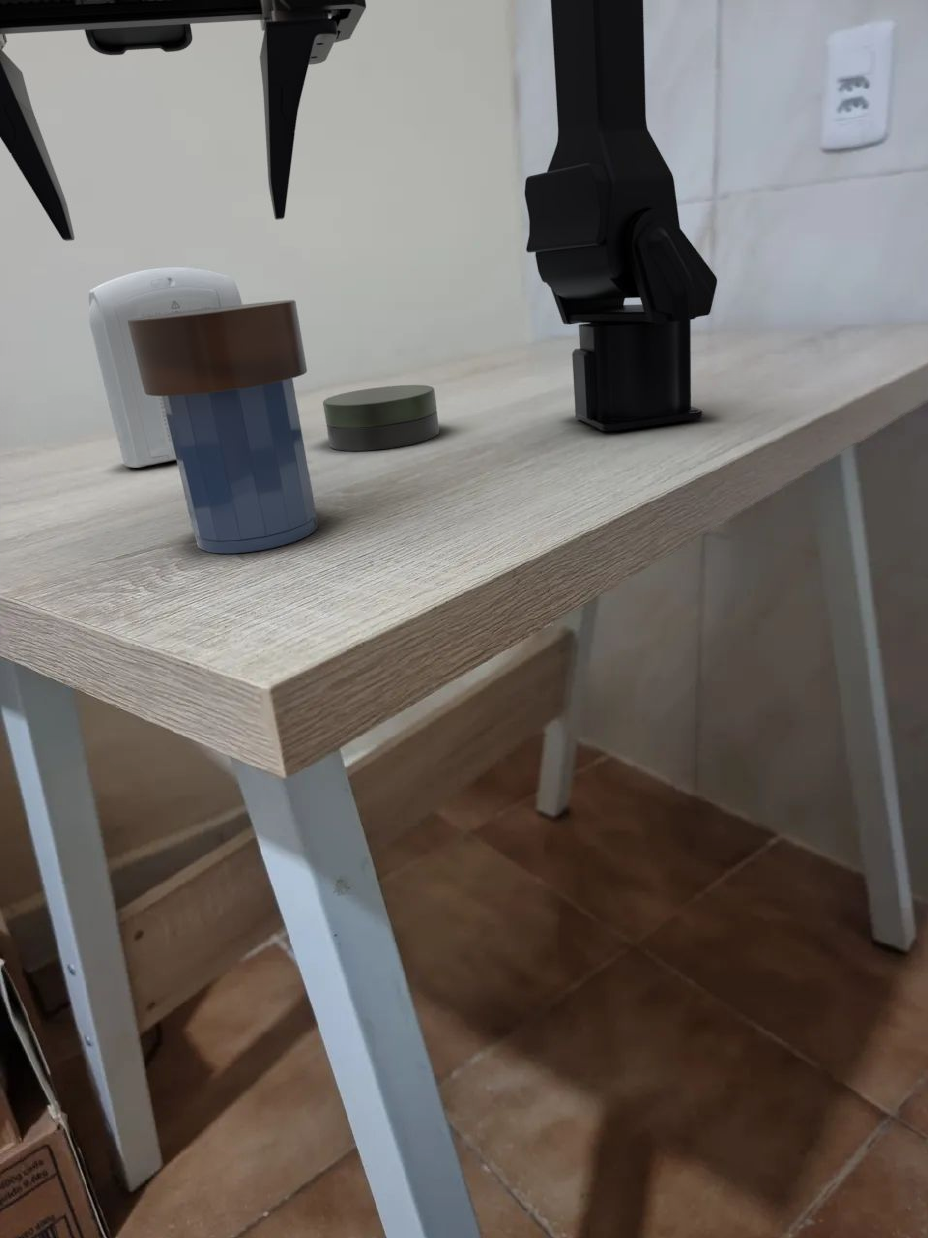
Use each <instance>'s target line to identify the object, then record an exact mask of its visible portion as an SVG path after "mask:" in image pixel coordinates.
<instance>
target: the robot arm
mask: <svg viewBox="0 0 928 1238" xmlns="http://www.w3.org/2000/svg"><path fill="white" fill-rule="evenodd" d="M366 2H367V1H366V0H0V140H1V141H2V143H3V144H4V147H5V148H6V149H7V151H8V152H9V154H10V155H11V158H13V160H14V162H15V164H16V166H17V167H18V169H19V171H20V172H21V174H22V175H23V177H24V178H25V181H26V182H27V183H28V185H29V187H30V188H31V190H32V191H33V193H34V195H35V196H36V198H37V200H38V201H39V203H40V204H41V206H42V208H43V210H44V211H45V213H46V215H47V216H48V218H49V220H50V221H51V222H52V225H53V226H54V228H55V230H56V231H57V233H58V234H59V236H60V238H61V239H62V240H63V241H66V242H69V241H71V242H72V241H74V240H75V233H74V229H73V225H72V220H71V216H70V212H69V207H68V203H67V201H66V200H67V199H66V198H65V195H64V192H63V189H62V186H61V184H60V181H59V179H58V176H57V173H56V170H55V167H54V164H53V162H52V159H51V156H50V154H49V151H48V149H47V146H46V143H45V140H44V138H43V135H42V132H41V130H40V126H39V124H38V121H37V119H36V116H35V113H34V111H33V108H32V104H31V100H30V96H29V93H28V89H27V85H26V81H25V76H24V73H23V71H22V70H21V69H20V68H19V67H18V65H16V64H15V63H14V62H13V60H11V58H10V57H9V56H8V55H7V54H6V53H5V51H3V49H4V47H5V46H6V44H7V42H8V40H7V35H10V34H11V35H12V34H13V35H14V34H31V33H33V34H34V33H49V32H51V33H52V32H69V31H84V33H85V37H86V40H87V43H88V45H89V46H90V48H91V49H92V50H94V51H95V52H97V53H99V54H101V55H106V56H122V55H124V54H125V53H126V52H127V51H135V50H137V51H138V50H152V49H153V50H154V49H159V50H162V51H163V52H165V53H171V52H172V53H174V52H179V51H182V50H185V49H187V48H188V47H189V46H190V45H191V44H192V42H193V32H192V27H191V24H192V25H194V24H209V23H212V24H213V23H228V22H246V21H259V22H260V28H261V31H262V32H263V36H262V43H261V48H260V53H259V63H260V72H261V81H262V82H261V83H262V93H263V95H262V96H263V110H264V111H263V112H264V127H265V144H266V162H267V181H268V190H269V195H270V201H271V205H272V211H273V217H274V219H275V220H277V221H278V220H284V219H285V216H286V209H287V200H288V191H289V185H290V176H291V169H292V168H291V167H292V158H293V150H294V144H295V143H294V142H295V135H296V134H295V133H296V127H297V119H298V112H299V107H300V102H301V97H302V94H303V90H304V85H305V82H306V77H307V73H308V69H309V65H310V66H311V65H319V64H321V63H323V62H325V61H326V60H327V58H328V56H329V54H330V52H331V50H332V48H333V46H334V44H336V43H340V42H343V41H346V40H350V39H351V37H352V35H353V33H354V32H355V30H356V28H357V25H358V24H359V23H360V21H361V18H362V16H363V14H364V13H365V11H366V9H367V3H366ZM550 12H551V29H552V31H551V32H552V46H553V47H552V48H553V64H554V83H555V98H556V99H555V100H556V101H555V102H556V117H557V119H556V121H557V141H556V145H555V148H554V151H553V154H552V157H551V159H550V163H549V165H548V168H547V171H546V172H541V173H537V174H532V175H529V176H527V177H526V178H525V180H524V181H525V182H524V198H525V205H526V210H527V215H528V221H529V227H528V228H529V229H528V237H527V238H528V239H527V243H526V247H525V250H526V252H527V253H529V254H530V253H535V254H534V255H535V259H536V260H535V262H536V266H537V272H538V274H539V276H540V279H541V281H542V282H543V283H546V285H548V287H549V288H550V290H551V293H552V297H553V299H554V302H555V305H556V307H557V310H558V313H559V317H560V319H561V322H562V324H563V325H574V324H575V325H576V324H578V337H579V348H575V349H574V350H573V351H572V352H571V356H572V374H573V392H574V409H575V410H574V414H575V418H576V419H578V420H580V421H581V422H584V423H586V424H588V425H590V426H592V427H594V428H596V429H598V430H600V431H602V432H616V431H621V430H629V429H636V428H643V427H648V426H657V425H663V424H670V423H678V422H684V421H691V420H698V419H699V420H700V419H702V418H703V409H699V408H697V407H693V406H692V338H691V337H692V334H691V333H692V331H691V329H692V328H691V326H692V323H691V321H692V320H695V319H696V318H699V317H705V316H709V315H710V314H711V311H712V307H713V303H714V298H715V294H716V290H717V285H718V277H717V276H716V275H715V273H714V272H713V270H712V269H711V268H710V266H709V265H708V264H707V262H706V261H705V260H704V258H703V257H702V255H700V253H699V252H698V250H697V249H696V247H695V246H694V245H693V243H692V242H691V241H690V239H689V238H688V236H687V235H686V234H685V233H684V232H683V230H682V229H681V225H680V217H679V209H678V202H677V201H678V200H677V193H676V186H675V180H674V175H673V173H672V171H671V169H670V168H669V165H668V164H667V162H666V160H665V158H664V156H663V154H662V152H661V151H660V149H659V147H658V146H657V144H656V142H655V140H654V138H653V136H652V134H651V132H650V131H649V129H648V124H647V113H646V111H647V109H646V69H645V68H646V67H645V65H646V64H645V63H646V62H645V27H644V26H645V24H644V23H645V22H644V0H550ZM625 299H640V303H641V304H625V301H626V300H625Z"/></svg>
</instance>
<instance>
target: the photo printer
mask: <svg viewBox="0 0 928 1238" xmlns="http://www.w3.org/2000/svg"><path fill="white" fill-rule="evenodd" d="M235 305H243V301H242V298H241V295H240V292H239V289H238V286H237V284H236V282H235V280H234V278H233V277H232V276H230V275H227V274H224V273H220V272H217V271H212V270H208V269H202V268H196V267H183V266H182V267H181V266H180V267H177V266H174V267H172V266H171V267H158V268H157V267H155V268H150V269H143V270H139V271H133V272H131V273H127V274H124V275H121V276H118V277H115V278H113V279H109V280H108V281H105V282H104V283H101V284H99V285H97V286H95V287H94V288H91V289H90V290H88V306H89V309H88V310H89V311H88V321H89V328H90V331H91V334H92V339H93V343H94V347H95V352H96V355H97V360H98V364H99V369H100V373H101V376H102V381H103V385H104V388H105V389H104V390H105V393H106V397H107V401H108V407H109V409H110V412H111V413H110V414H111V417H112V421H113V425H114V426H113V427H114V430H115V434H116V438H117V442H118V447H119V451H120V454H121V458H122V462H123V464H124V466H126V467H127V468H134V469H138V468H144V467H147V466H152V465H153V466H154V465H158V464H163V463H168V462H173V461H177V460H176V455H175V451H174V447H173V442H172V438H171V434H170V430H169V425H168V421H167V417H166V412H165V408H164V404H163V400H162V396H151V395H147V394H145V392H144V388H143V384H142V380H141V375H140V371H139V367H138V363H137V359H136V355H135V351H134V346H133V342H132V338H131V334H130V330H129V326H128V320H130V319H135V318H141V317H148V316H155V315H162V314H169V313H177V312H185V311H193V310H201V309H209V308H217V307H226V306H235Z"/></svg>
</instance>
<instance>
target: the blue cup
mask: <svg viewBox="0 0 928 1238" xmlns="http://www.w3.org/2000/svg"><path fill="white" fill-rule="evenodd" d="M162 400H163V404H164V408H165V412H166V417H167V421H168V425H169V430H170V434H171V438H172V442H173V447H174V451H175V455H176V460H175V461H176V464H177V468H178V472H179V477H180V480H181V486H182V489H183V494H184V498H185V502H186V507H187V510H188V515H189V519H190V524H191V528H192V533H193V534H194V536H195V541H196V545H197V547H198V548H199V549H200V550H202V551H205V552H208V553H213V554H214V553H215V554H243V553H252V552H259V551H264V550H270V549H274V548H279V547H281V546H282V547H283V546H285V545H289V544H292V543H294V542H297V541H299V540H302V539H304V538H306V537H308V536H309V535H311V534H312V533H314V532H315V531H316V530H317V528H318V526H319V523H318V516H317V512H316V511H317V510H316V505H315V499H314V492H313V488H312V487H313V486H312V481H311V475H310V470H309V464H308V459H307V453H306V447H305V441H304V436H303V431H302V424H301V419H300V414H299V413H300V412H299V409H298V408H299V407H298V402H297V401H298V400H297V396H296V390H295V385H294V378H291V379H288V380H284V381H279V382H275V383H270V384H265V385H259V386H254V387H248V388H241V389H235V390H228V391H220V392H212V393H203V394H193V395H180V396H162Z"/></svg>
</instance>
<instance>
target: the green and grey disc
mask: <svg viewBox="0 0 928 1238" xmlns="http://www.w3.org/2000/svg"><path fill="white" fill-rule="evenodd" d="M436 400H437V399H436V392H435V388H434V386H430V385H427V384H426V385H425V384H401V385H389V386H378V387H371V388H365V389H359V390H353V391H347V392H344V393H340V394H336V395H332V396H329V397H327V398H325V399H324V400H323V401H322V406H323V414H324V419H325V424H326V431H327V437H328V444H329V447H330V448H331V449H334V450H338V451H346V452H365V451H368V452H369V451H378V450H379V451H381V450H388V449H395V448H400V447H406V446H412V445H414V444H419V443H422V442H425V441H428V440H430V439H433V438H435V437H437V436H439V433H440V427H439V425H440V424H439V419H438V418H439V417H438V411H437V410H438V409H437V401H436Z"/></svg>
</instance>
